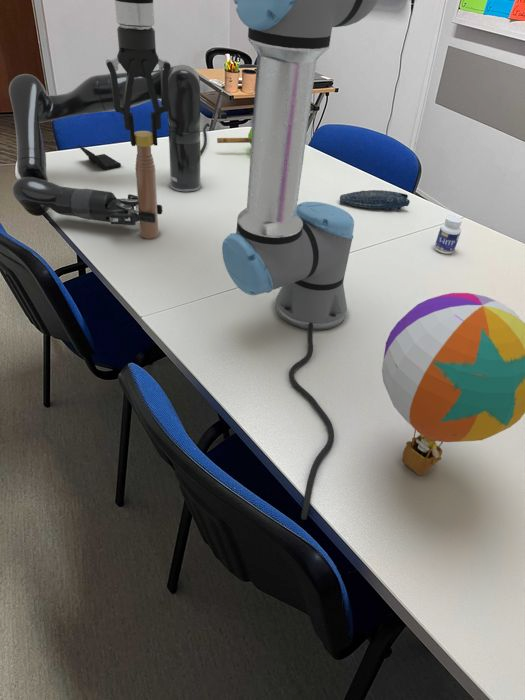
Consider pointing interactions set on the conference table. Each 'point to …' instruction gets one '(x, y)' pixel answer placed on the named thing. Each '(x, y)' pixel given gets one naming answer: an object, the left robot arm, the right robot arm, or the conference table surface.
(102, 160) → the black angled piece
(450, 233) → the pill bottle
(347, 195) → the fish model
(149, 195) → the bottle
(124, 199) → the left robot arm
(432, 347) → the toy
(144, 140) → the cap
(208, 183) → the conference table surface
